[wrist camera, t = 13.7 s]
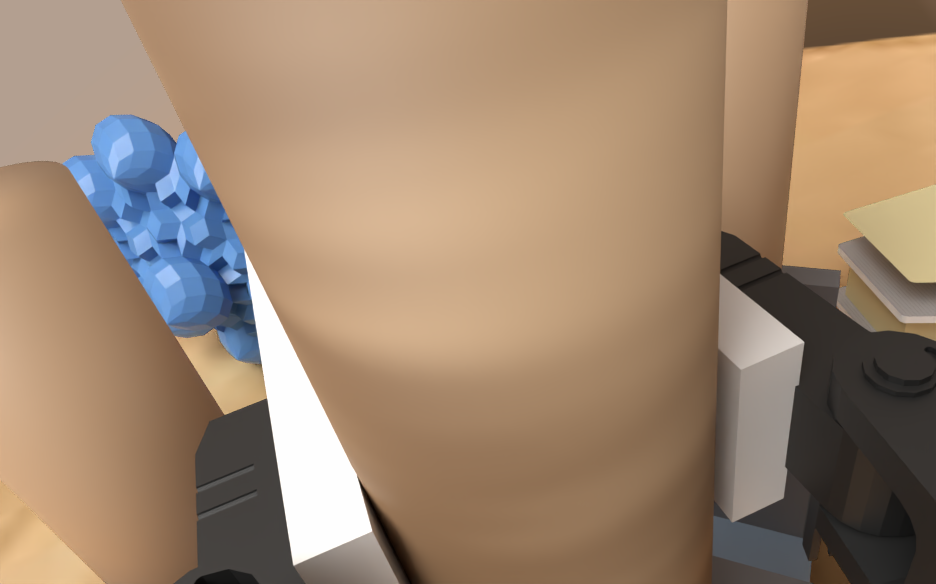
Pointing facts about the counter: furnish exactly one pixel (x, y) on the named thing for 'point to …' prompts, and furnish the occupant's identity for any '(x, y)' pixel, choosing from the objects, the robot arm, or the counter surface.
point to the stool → (192, 406)
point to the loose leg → (484, 259)
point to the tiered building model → (893, 265)
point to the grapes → (171, 230)
